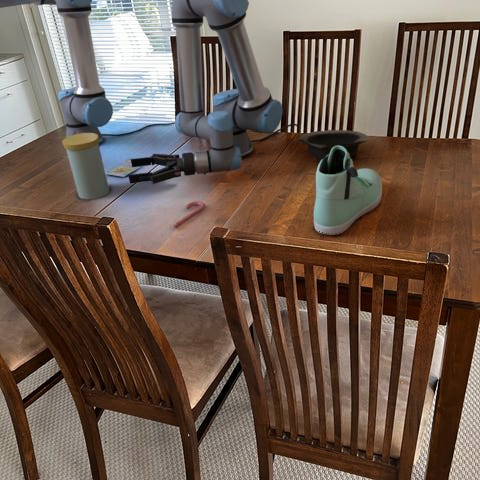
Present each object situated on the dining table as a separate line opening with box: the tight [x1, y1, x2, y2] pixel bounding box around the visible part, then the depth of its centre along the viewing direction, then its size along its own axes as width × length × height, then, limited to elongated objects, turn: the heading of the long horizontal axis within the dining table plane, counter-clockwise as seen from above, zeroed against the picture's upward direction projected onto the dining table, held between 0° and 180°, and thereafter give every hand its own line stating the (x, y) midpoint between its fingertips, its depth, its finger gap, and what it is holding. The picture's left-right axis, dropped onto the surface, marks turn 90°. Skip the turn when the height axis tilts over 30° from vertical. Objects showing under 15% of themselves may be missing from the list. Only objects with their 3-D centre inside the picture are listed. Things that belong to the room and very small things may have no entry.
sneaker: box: [313, 146, 383, 236], centre depth 133 cm, size 14×35×20 cm, turn 152°
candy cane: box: [173, 200, 207, 229], centre depth 142 cm, size 6×15×2 cm, turn 145°
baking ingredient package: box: [105, 158, 142, 178], centre depth 177 cm, size 9×1×15 cm
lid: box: [61, 133, 99, 150], centre depth 152 cm, size 11×11×2 cm
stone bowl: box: [297, 129, 371, 164], centre depth 171 cm, size 25×25×9 cm
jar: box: [65, 144, 110, 200], centre depth 156 cm, size 10×10×18 cm
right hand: (130, 170), depth 157 cm, fingers open, 13 cm apart
